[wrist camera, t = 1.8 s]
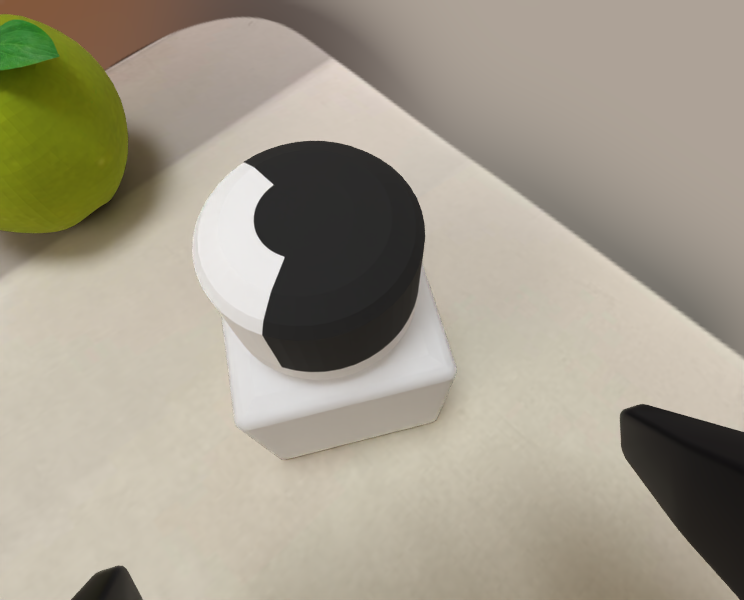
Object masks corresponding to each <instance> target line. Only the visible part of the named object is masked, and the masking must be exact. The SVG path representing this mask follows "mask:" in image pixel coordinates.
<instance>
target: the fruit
mask: <svg viewBox="0 0 744 600" xmlns="http://www.w3.org/2000/svg"><path fill="white" fill-rule="evenodd" d="M127 155H128V131H127V122H126V117H125V113H124V109H123V106H122V103H121V100H120V97H119V95H118V93H117V91H116V89H115V87H114V85H113V83H112V81H111V80H110V78H109V77H108V75H107V74H106V72H105V71H104V69H103V68H102V67H101V66H100V65H99V63H98V62H97V61H96V60H95V59H94V58H93V57H92V55H90V54H89V53H88V52H87V51H86V50H85V49H84V48H82V47H81V46H80V45H79V44H78V43H77V42H76V41H74V40H72V39H70V38H69V37H68V36H66V35H64V34H63V33H61V32H60V31H58V30H56V29H54V28H52V27H49V26H47V25H45V24H43V23H41V22H38V21H35V20H32V19H28V18H25V17H22V16H16V15H8V14H2V15H0V230H3V231H10V232H18V233H50V232H57V231H61V230H65V229H68V228H70V227H72V226H74V225H76V224H77V223H79V222H81V221H82V220H83V219H85V218H86V217H87V216H88V215H90V214H91V213H92V212H93V211H95V210H96V209H98V208H99V207H100V206H102V205H104V204H105V203H107V202H108V201H109V200H111V199H112V197H113V196H114V194H115V192H116V191H117V189H118V187H119V184H120V182H121V180H122V177H123V174H124V170H125V166H126V161H127Z"/></svg>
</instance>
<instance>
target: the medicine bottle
mask: <svg viewBox="0 0 744 600" xmlns="http://www.w3.org/2000/svg"><path fill="white" fill-rule="evenodd" d="M424 242H425V226H424V220H423V215H422V210H421V208H420V205H419V203H418V200H417V198H416V196H415V194H414V193H413V191H412V189H411V188H410V186H409V185H408V184H407V182H406V181H405V180H404V179H403V177H402V176H401V175H400V174H399V173H398V172H396V171H395V170H394V169H393V168H392V167H391V166H389V165H388V164H387V163H385V162H384V161H382V160H381V159H379V158H377V157H375V156H373V155H371V154H369V153H367V152H365V151H362V150H360V149H357V148H354V147H352V146H348V145H344V144H340V143H334V142H326V141H304V142H294V143H290V144H285V145H280V146H277V147H274V148H271V149H268V150H266V151H263V152H261V153H259V154H257V155H255V156H253V157H251V158H250V159H248V160H246V161H244V162H243V163H242V164H240V165H239V166H238V167H236V168H235V169H233V170H232V171H231V172H230V173H229V174H228V175H227V176H226V177H225V178H224V179H223V180H222V181H221V182H220V183H219V184H218V185H217V187H216V188H215V189H214V190H213V192H212V193H211V194H210V196H209V197H208V199H207V200H206V202H205V204H204V205H203V207H202V209H201V212H200V214H199V216H198V219H197V222H196V226H195V229H194V233H193V243H192V253H193V263H194V267H195V271H196V275H197V277H198V280H199V282H200V285H201V287H202V289H203V290H204V292H205V293H206V295H207V296H208V298H209V300H210V301H211V302H212V304H213V305H214V306H215V308H216V309H217V310H218V312H219V313H220V314H221V318H222V326H223V334H224V342H225V350H226V358H227V366H228V374H229V382H230V390H231V398H232V406H233V414H234V422H235V424H236V426H237V428H239V429H240V430H241V431H243V432H244V433H246V434H247V435H248V436H250V437H251V438H252V439H254V440H255V441H257V442H258V443H259V444H261V445H262V446H263V447H265V448H266V449H267V450H269V451H270V452H272V453H273V454H274V455H276V456H277V457H279V458H280V459H284V460H286V459H290V458H294V457H298V456H302V455H306V454H310V453H314V452H318V451H322V450H325V449H329V448H333V447H337V446H341V445H345V444H349V443H353V442H357V441H361V440H365V439H369V438H373V437H377V436H381V435H384V434H388V433H392V432H396V431H400V430H404V429H408V428H412V427H416V426H420V425H424V424H428V423H432V422H434V421H435V420H436V419H437V417H438V415H439V413H440V411H441V408H442V406H443V404H444V401H445V399H446V397H447V394H448V392H449V390H450V387H451V385H452V383H453V380H454V378H455V376H456V373H457V367H456V364H455V361H454V358H453V355H452V352H451V349H450V346H449V343H448V340H447V337H446V334H445V330H444V327H443V324H442V321H441V318H440V315H439V312H438V309H437V306H436V303H435V300H434V297H433V294H432V291H431V288H430V285H429V282H428V279H427V276H426V273H425V270H424V267H423V264H422V258H423V251H424Z"/></svg>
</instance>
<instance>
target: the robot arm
mask: <svg viewBox="0 0 744 600" xmlns="http://www.w3.org/2000/svg"><path fill="white" fill-rule="evenodd" d="M620 431H621V447H622V451H623V454H624V456H625V458H626V460H627V461H628V463H629V464H630V465H631V467H632V468H633V469H634V471H635V472H636V473H637V475H638V476H639V477H640V479H641V480H642V482H643V483H644V484H645V486H646V487H647V488H648V490H649V491H650V492H651V494H652V495H653V496H654V498H655V499H656V501H657V502H658V503H659V505H660V506H661V507H662V509H663V510H664V511H665V513H666V514H667V515H668V517H669V518H670V520H671V521H672V522H673V523H674V525H675V526H676V527H677V529H678V530H679V531H680V532H681V534H682V535H683V536H684V537H685V538H686V539H687V541H688V542H689V543H690V544H691V545H692V546H693V547H694V549H695V550H696V551H697V552H698V553H699V554H700V555H701V556H702V557H703V559H704V560H705V561H706V562H707V563H708V564H709V565H710V566H711V568H712V569H713V570H714V571H715V572H716V573H717V574H718V575H719V576H720V578H721V579H722V580H723V581H724V582H725V583H726V584H727V585H728V587H729V588H730V589H731V590H732V591H733V592H734V593H735V594H736V595H737V597H738V598H739V599H740V600H744V432H741V431H738V430H734V429H731V428H727V427H723V426H720V425H716V424H713V423H709V422H706V421H702V420H699V419H695V418H692V417H688V416H685V415H681V414H678V413H674V412H670V411H667V410H663V409H660V408H656V407H653V406H649V405H645V404H640V405H636V406H633V407H630V408H627V409H624V410H623V411H622V412H621V414H620ZM71 600H143V599H142V597H141V595H140V593H139V591H138V589H137V587H136V586H135V584H134V582H133V580H132V578H131V576H130V574H129V572H128V571H127V569H126V568H125V567H124V566H115V567H112V568H109V569H106V570H102V571H100V572H97V573H96V574H95V575H94V576H92V577H91V579H90V580H89V581H88V582H87V583H86V584H85V585H84V586H83V587H82V588H81V590H80V591H79V592H78V593H77V594H76V595H75V596H74V597H73V598H72V599H71Z"/></svg>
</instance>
